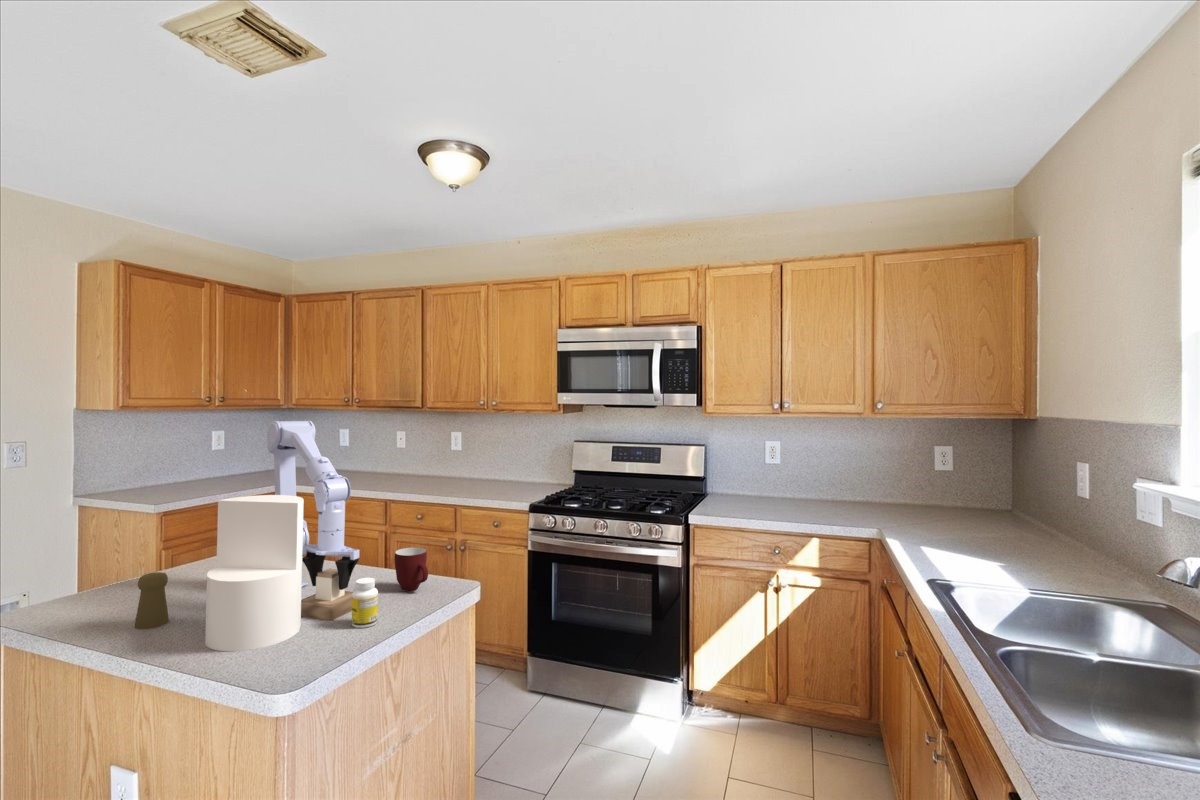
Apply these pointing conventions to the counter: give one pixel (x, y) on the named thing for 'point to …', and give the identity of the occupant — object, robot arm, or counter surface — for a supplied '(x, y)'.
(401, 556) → the mug
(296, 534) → the cream chair shape
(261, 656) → the counter surface
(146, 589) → the cork
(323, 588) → the beige rectangular block
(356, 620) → the supplement bottle
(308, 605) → the tan square tray
